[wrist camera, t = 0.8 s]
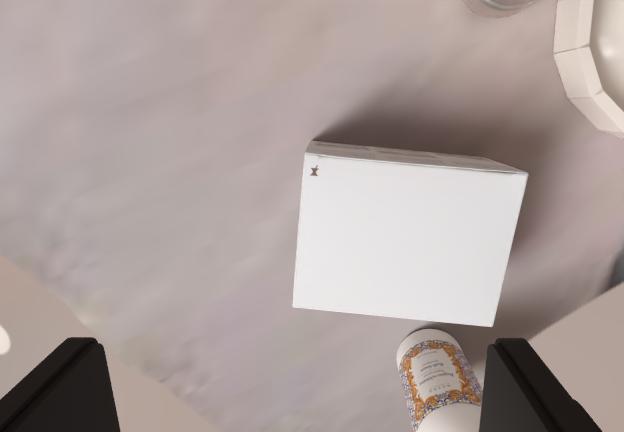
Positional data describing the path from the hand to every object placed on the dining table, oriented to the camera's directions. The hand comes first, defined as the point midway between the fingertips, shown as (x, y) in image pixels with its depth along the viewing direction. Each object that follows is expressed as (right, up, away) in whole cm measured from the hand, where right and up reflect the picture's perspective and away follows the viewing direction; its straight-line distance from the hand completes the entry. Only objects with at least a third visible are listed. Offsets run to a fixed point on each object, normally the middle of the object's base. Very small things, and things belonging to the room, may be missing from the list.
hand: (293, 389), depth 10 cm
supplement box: (+8, +4, +31) cm, 32 cm away
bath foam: (+13, -11, +35) cm, 39 cm away
